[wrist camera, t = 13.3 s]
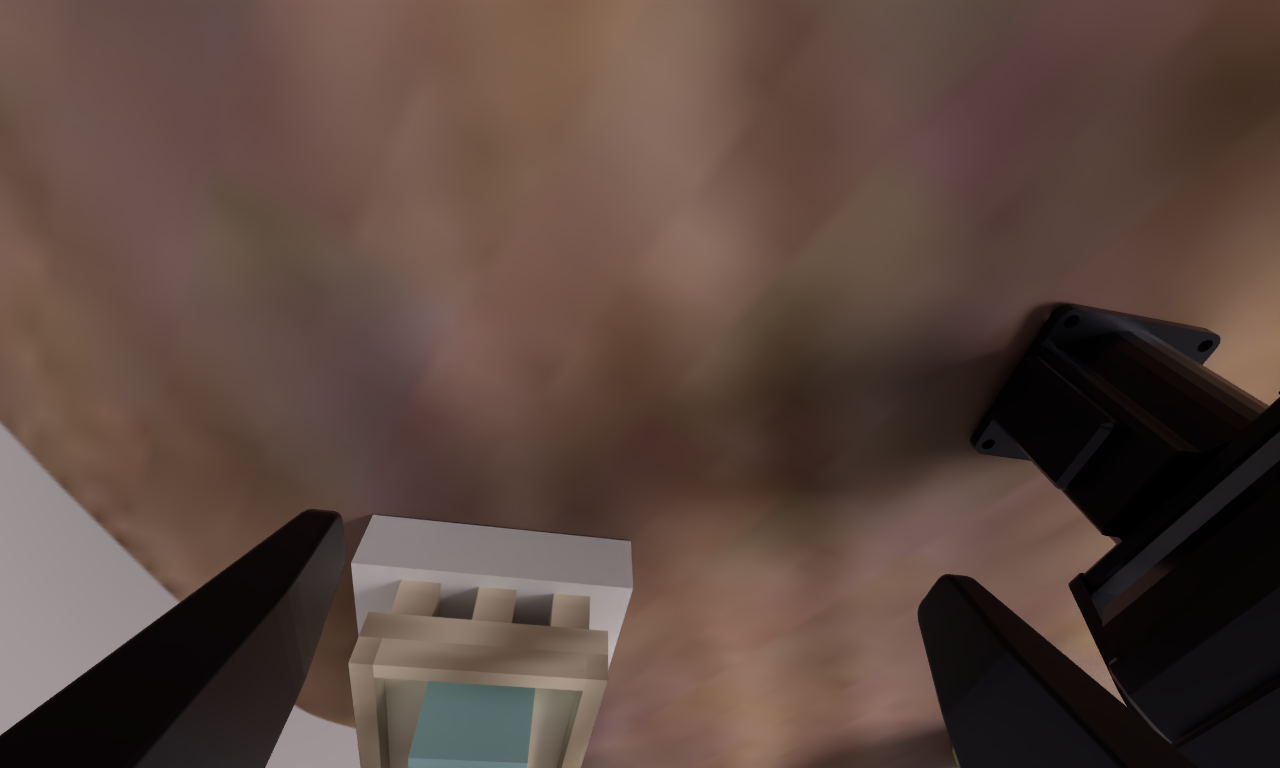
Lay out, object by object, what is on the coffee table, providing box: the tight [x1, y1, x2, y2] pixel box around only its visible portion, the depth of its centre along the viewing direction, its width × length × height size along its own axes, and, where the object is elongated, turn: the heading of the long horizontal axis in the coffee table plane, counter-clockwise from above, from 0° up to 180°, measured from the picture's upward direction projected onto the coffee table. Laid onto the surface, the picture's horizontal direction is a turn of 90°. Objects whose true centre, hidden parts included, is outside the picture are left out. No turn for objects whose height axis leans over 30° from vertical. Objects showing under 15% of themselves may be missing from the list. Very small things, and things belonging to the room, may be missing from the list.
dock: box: [351, 515, 633, 669], centre depth 28 cm, size 11×15×2 cm
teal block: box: [408, 681, 535, 768], centre depth 22 cm, size 4×3×3 cm
